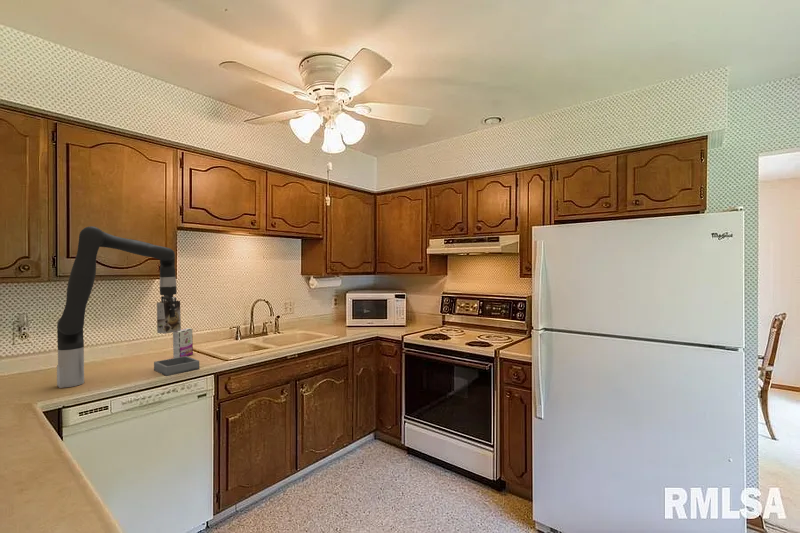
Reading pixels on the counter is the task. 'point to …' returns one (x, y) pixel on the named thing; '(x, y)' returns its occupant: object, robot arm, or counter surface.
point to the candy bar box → (182, 343)
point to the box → (176, 365)
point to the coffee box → (168, 318)
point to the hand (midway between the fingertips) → (169, 316)
